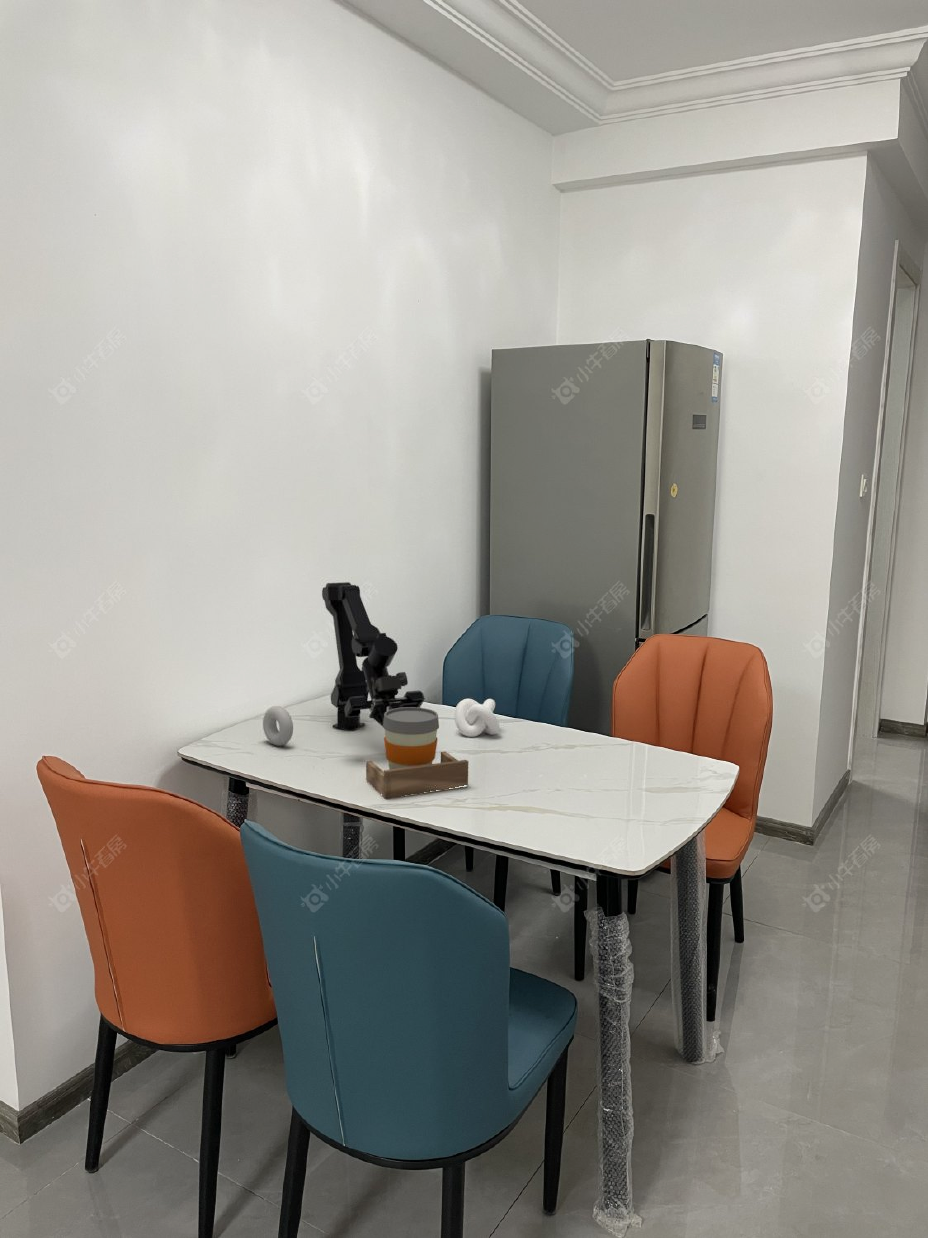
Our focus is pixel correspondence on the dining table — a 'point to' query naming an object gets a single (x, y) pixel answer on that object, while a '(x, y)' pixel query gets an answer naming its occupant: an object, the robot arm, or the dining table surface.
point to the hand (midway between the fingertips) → (393, 735)
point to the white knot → (476, 717)
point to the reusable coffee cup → (410, 736)
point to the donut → (284, 725)
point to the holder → (418, 777)
